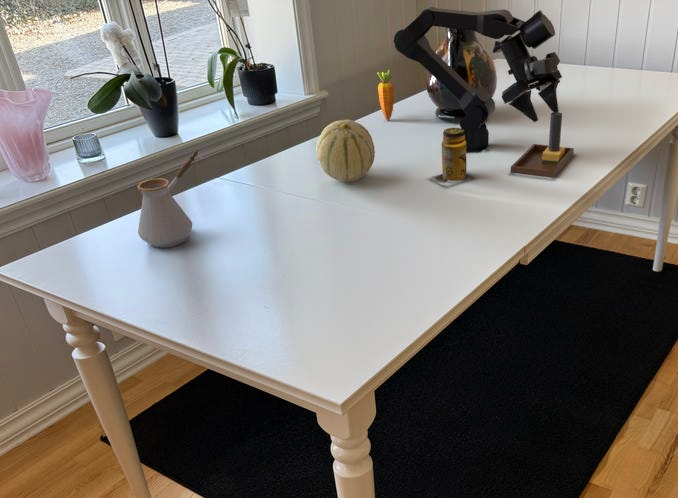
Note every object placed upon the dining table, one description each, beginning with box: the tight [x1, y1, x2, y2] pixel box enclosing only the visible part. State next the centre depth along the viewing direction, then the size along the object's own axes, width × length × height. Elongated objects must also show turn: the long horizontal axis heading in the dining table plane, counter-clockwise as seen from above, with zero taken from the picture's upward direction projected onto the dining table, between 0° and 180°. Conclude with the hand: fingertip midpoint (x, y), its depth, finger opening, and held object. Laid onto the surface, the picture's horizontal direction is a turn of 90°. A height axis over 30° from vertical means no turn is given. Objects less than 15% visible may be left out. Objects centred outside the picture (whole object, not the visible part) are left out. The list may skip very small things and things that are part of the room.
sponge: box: [542, 111, 565, 164], centre depth 176 cm, size 6×4×12 cm
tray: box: [510, 143, 575, 179], centre depth 177 cm, size 18×11×2 cm, turn 154°
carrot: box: [376, 69, 395, 122], centre depth 211 cm, size 5×5×15 cm
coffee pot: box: [136, 150, 204, 249], centre depth 151 cm, size 21×12×15 cm, turn 155°
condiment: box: [429, 127, 467, 186], centre depth 170 cm, size 7×8×12 cm
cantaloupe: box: [316, 119, 376, 183], centre depth 172 cm, size 15×15×15 cm
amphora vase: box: [425, 27, 498, 124], centre depth 207 cm, size 22×22×28 cm
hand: (546, 117), depth 175 cm, fingers open, 9 cm apart
